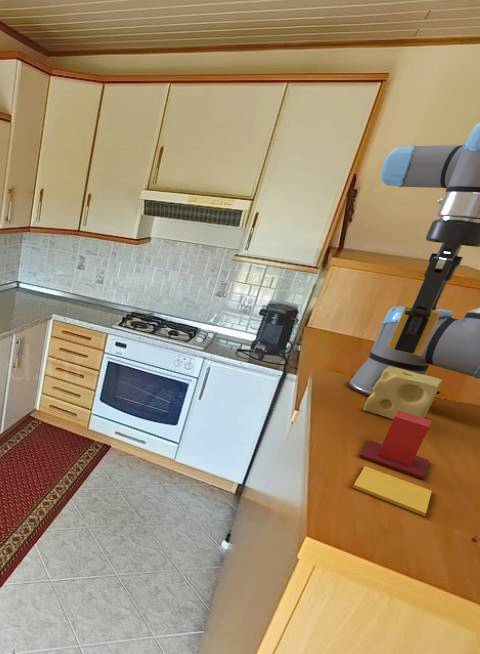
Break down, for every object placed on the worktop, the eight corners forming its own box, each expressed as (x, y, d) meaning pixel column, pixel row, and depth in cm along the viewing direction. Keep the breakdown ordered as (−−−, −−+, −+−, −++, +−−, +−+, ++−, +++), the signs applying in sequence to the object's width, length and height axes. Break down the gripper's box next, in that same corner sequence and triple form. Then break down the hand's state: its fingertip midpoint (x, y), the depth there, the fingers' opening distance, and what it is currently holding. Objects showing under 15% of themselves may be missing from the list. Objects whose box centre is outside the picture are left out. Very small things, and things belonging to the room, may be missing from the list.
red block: (381, 447, 93) (398, 410, 91) (413, 458, 90) (431, 420, 88) (377, 455, 90) (394, 416, 87) (410, 466, 87) (429, 426, 84)
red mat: (368, 442, 97) (369, 439, 97) (427, 462, 91) (429, 459, 91) (359, 457, 90) (360, 454, 90) (422, 479, 84) (423, 477, 84)
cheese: (362, 410, 113) (378, 370, 110) (372, 401, 120) (389, 363, 117) (419, 429, 106) (439, 387, 103) (427, 418, 113) (446, 378, 110)
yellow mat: (363, 468, 86) (365, 465, 86) (430, 493, 80) (432, 490, 80) (352, 487, 79) (354, 484, 79) (424, 516, 73) (426, 513, 73)
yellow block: (391, 345, 95) (408, 305, 92) (423, 352, 91) (442, 311, 89) (387, 348, 91) (405, 306, 89) (420, 356, 88) (439, 313, 86)
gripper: (438, 220, 92) (388, 338, 100) (428, 215, 80) (372, 349, 88) (493, 225, 87) (436, 349, 95) (492, 220, 75) (426, 362, 83)
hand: (405, 349), depth 91 cm, fingers closed on yellow block, 5 cm apart
